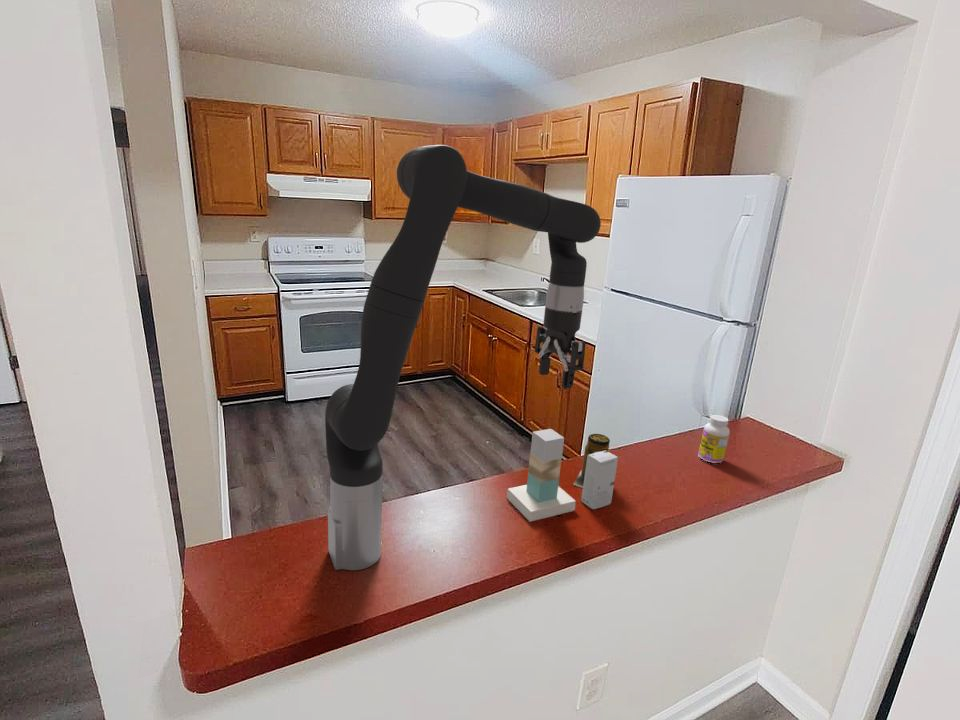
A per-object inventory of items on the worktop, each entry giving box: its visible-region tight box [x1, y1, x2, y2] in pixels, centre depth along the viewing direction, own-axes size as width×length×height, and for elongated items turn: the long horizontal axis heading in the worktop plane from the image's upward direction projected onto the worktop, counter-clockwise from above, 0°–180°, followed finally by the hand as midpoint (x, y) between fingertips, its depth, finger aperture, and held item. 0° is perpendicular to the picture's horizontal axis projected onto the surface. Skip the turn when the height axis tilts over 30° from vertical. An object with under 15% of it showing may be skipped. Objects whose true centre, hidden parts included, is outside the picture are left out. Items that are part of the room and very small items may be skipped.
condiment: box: [573, 433, 611, 489], centre depth 131 cm, size 7×8×12 cm
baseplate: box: [506, 484, 577, 523], centre depth 121 cm, size 12×10×2 cm
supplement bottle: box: [697, 414, 731, 463], centre depth 148 cm, size 7×7×13 cm
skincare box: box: [580, 450, 619, 510], centre depth 122 cm, size 6×4×12 cm
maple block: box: [527, 451, 563, 483], centre depth 118 cm, size 5×5×5 cm
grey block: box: [530, 428, 565, 462], centre depth 117 cm, size 5×5×5 cm
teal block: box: [526, 472, 560, 503], centre depth 120 cm, size 5×5×5 cm
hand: (554, 380), depth 112 cm, fingers open, 8 cm apart
